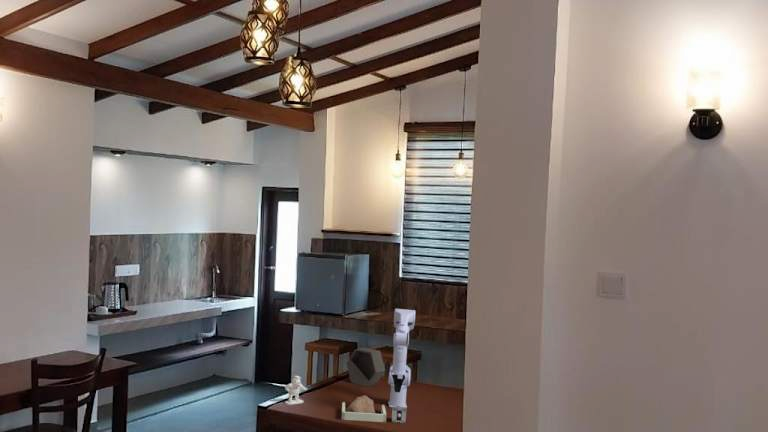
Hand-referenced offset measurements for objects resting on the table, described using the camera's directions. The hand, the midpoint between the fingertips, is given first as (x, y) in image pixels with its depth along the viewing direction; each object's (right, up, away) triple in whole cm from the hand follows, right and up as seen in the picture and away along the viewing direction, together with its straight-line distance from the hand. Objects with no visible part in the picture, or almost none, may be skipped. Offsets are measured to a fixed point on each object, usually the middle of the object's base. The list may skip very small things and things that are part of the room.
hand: (397, 391), depth 301 cm
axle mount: (0, -10, -10) cm, 14 cm away
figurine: (-45, -7, +7) cm, 46 cm away
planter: (-16, -10, +54) cm, 57 cm away
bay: (-14, -9, -4) cm, 17 cm away
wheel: (0, -9, -9) cm, 13 cm away
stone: (-15, -9, -6) cm, 19 cm away
